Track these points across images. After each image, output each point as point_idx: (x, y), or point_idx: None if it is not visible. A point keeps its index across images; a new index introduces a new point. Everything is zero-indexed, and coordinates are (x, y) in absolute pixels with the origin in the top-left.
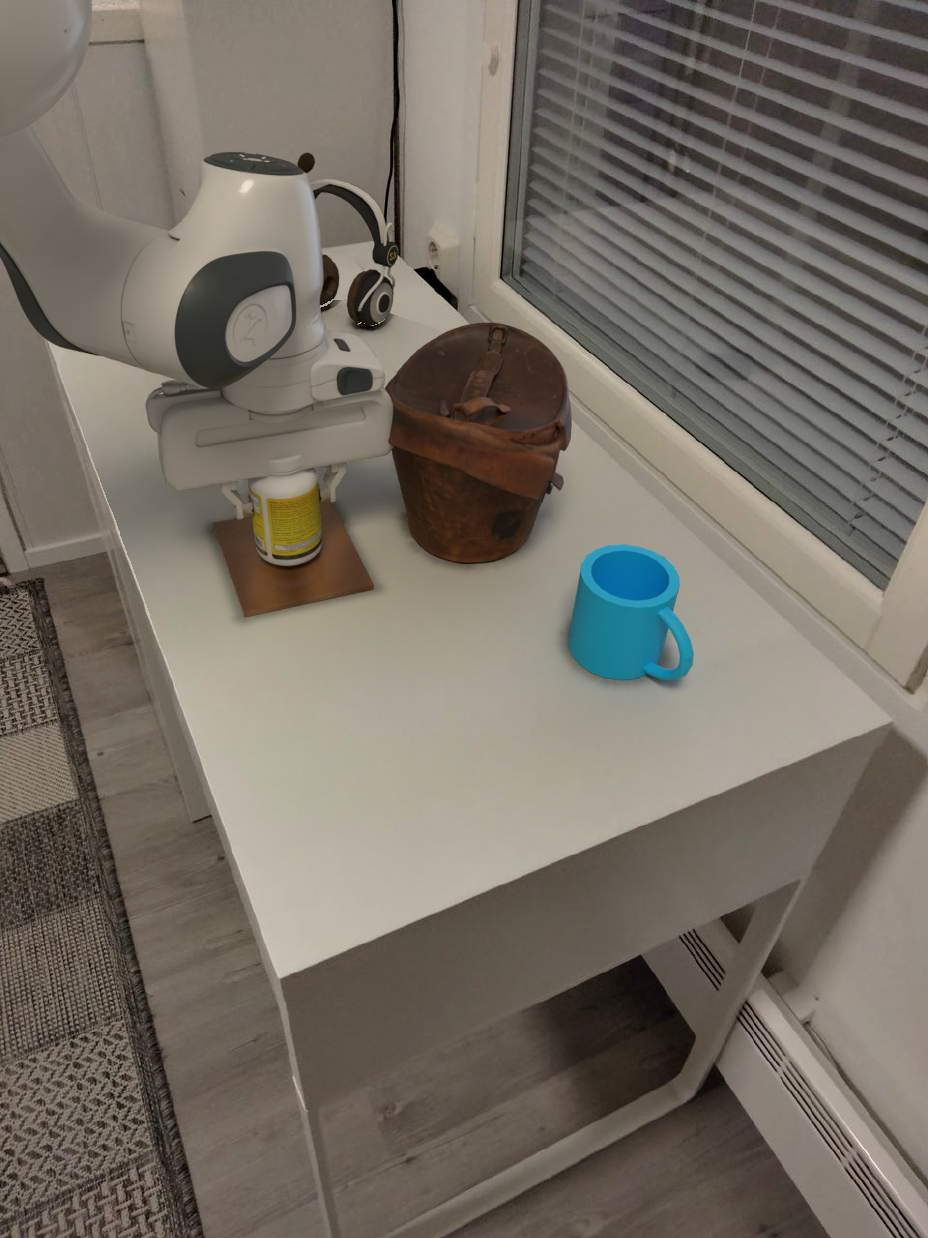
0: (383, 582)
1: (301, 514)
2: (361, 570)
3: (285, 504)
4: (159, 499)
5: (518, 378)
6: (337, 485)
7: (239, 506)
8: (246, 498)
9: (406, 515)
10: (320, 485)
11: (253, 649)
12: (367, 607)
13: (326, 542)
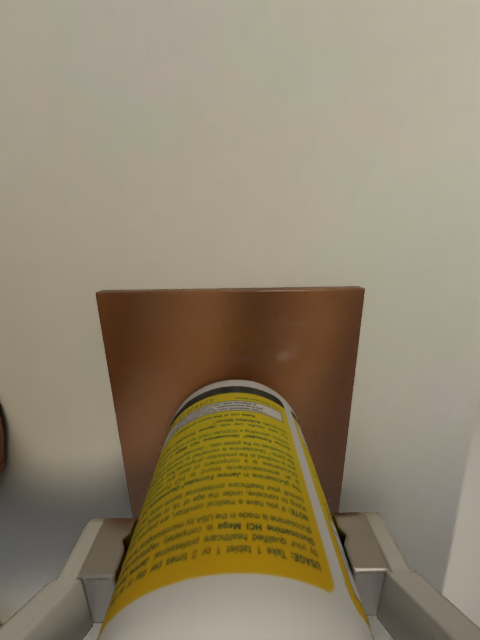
0: (79, 305)
1: (203, 485)
2: (112, 340)
3: (260, 541)
4: None
5: None
6: (43, 588)
7: (395, 561)
8: (363, 590)
9: (1, 464)
10: (107, 597)
11: (372, 187)
12: (123, 240)
13: (164, 432)
